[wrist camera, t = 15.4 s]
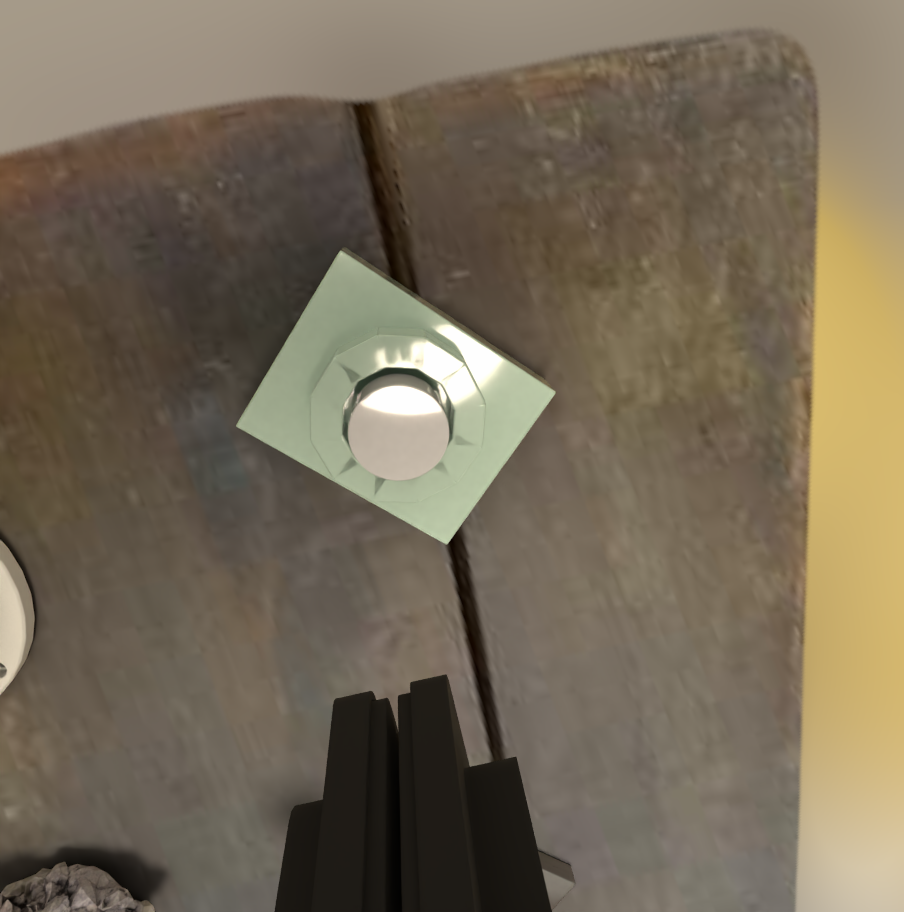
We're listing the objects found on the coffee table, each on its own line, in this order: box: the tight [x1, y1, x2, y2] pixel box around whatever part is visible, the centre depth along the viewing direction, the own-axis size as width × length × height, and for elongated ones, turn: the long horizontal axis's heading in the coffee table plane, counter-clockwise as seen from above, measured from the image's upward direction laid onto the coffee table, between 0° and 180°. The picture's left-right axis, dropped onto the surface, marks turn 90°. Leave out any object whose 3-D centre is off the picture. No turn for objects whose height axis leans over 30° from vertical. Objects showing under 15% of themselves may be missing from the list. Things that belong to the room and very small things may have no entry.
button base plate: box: [236, 247, 556, 544], centre depth 28 cm, size 10×8×4 cm
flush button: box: [348, 374, 449, 481], centre depth 26 cm, size 4×4×2 cm
